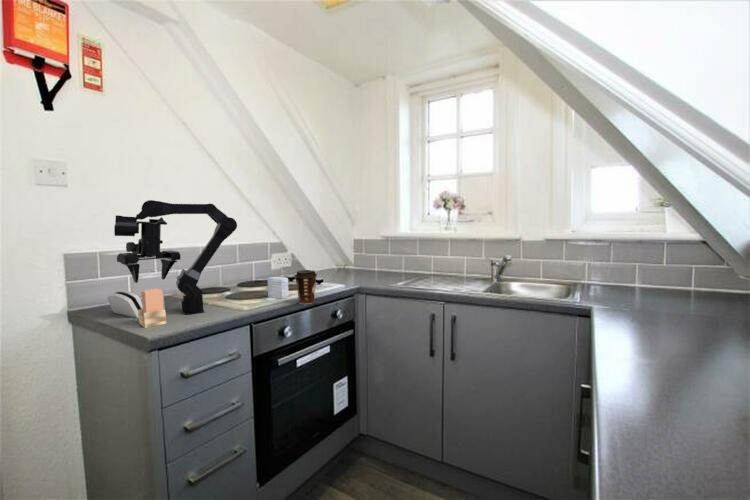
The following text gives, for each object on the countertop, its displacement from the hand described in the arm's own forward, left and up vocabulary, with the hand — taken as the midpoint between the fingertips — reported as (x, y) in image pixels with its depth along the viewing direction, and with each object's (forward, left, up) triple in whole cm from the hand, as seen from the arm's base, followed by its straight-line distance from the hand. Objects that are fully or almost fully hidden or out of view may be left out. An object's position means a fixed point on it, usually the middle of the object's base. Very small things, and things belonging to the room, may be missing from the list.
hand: (150, 280), depth 126 cm
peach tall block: (0, +10, -12) cm, 16 cm away
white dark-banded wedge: (+7, -9, -13) cm, 18 cm away
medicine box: (-47, -3, -13) cm, 49 cm away
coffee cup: (-53, +14, -13) cm, 56 cm away
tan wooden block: (0, +10, -13) cm, 16 cm away
